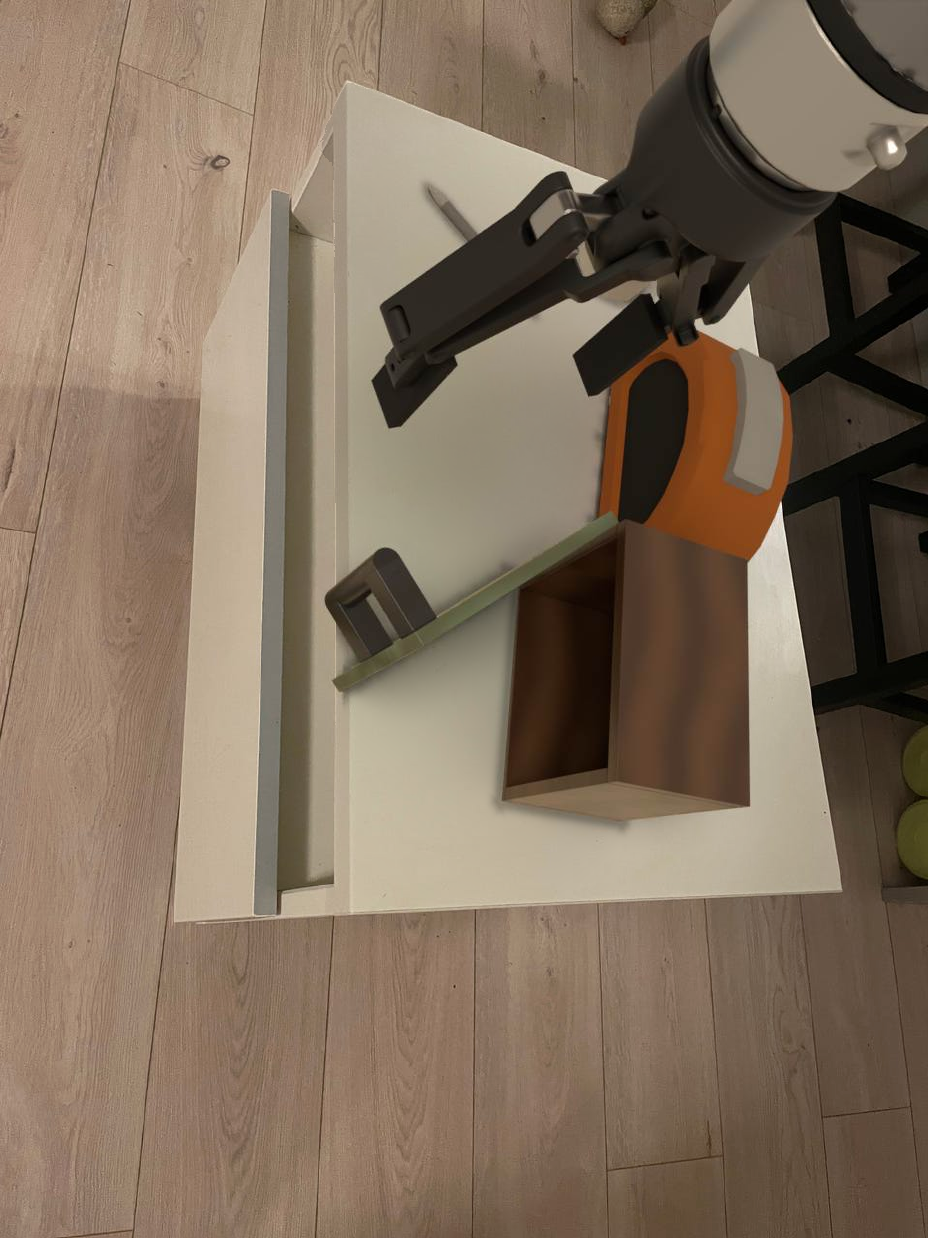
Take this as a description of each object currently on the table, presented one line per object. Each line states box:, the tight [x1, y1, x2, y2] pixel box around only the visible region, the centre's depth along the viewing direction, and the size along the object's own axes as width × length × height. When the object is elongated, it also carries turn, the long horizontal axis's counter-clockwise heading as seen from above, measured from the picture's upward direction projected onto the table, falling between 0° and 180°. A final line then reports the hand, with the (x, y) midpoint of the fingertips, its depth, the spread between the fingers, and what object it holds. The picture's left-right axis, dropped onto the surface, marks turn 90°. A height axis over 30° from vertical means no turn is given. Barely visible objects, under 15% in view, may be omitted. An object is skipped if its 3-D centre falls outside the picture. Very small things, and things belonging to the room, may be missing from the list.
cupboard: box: [501, 519, 751, 822], centre depth 69 cm, size 11×18×15 cm, turn 174°
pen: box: [428, 185, 479, 242], centre depth 83 cm, size 1×14×1 cm, turn 50°
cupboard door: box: [324, 511, 619, 693], centre depth 64 cm, size 6×18×15 cm, turn 126°
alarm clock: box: [598, 328, 794, 563], centre depth 77 cm, size 23×9×17 cm, turn 171°
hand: (491, 388), depth 51 cm, fingers open, 13 cm apart
